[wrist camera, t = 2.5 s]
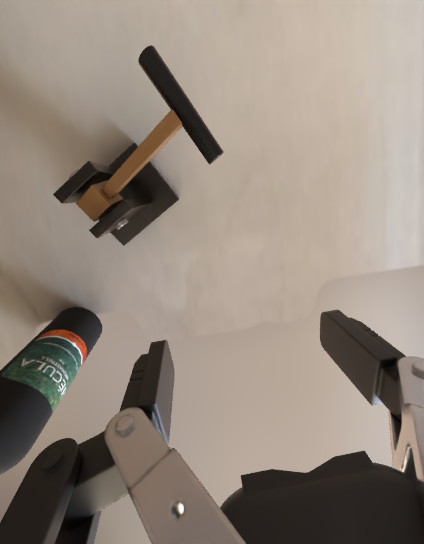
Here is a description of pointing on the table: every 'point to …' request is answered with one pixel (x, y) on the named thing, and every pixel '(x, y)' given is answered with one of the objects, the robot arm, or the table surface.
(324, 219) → the table surface
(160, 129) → the lever
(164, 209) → the bracket
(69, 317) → the wine bottle
